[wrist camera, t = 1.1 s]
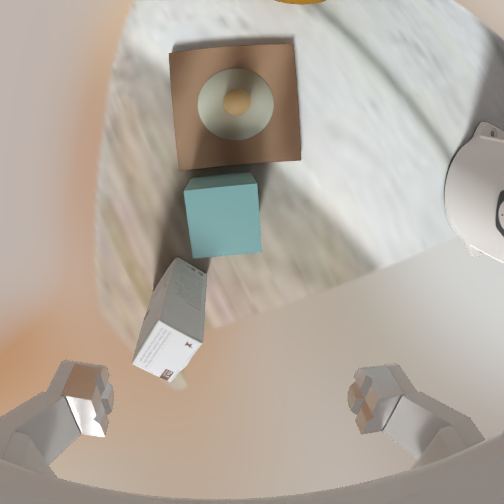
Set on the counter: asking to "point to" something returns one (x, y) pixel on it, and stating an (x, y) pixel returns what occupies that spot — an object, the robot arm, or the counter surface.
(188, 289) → the skincare box
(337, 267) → the counter surface
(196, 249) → the teal cube box
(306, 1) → the apple
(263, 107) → the tan plate with disc
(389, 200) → the counter surface
